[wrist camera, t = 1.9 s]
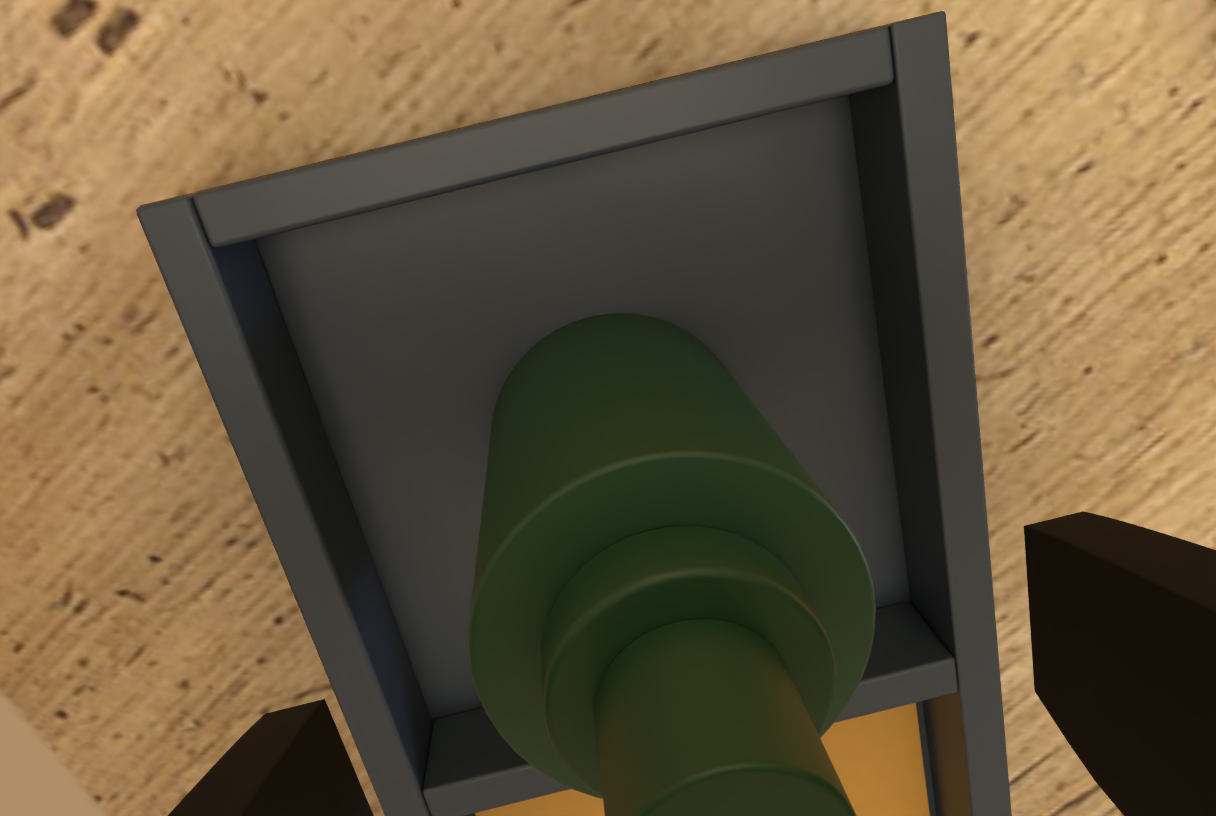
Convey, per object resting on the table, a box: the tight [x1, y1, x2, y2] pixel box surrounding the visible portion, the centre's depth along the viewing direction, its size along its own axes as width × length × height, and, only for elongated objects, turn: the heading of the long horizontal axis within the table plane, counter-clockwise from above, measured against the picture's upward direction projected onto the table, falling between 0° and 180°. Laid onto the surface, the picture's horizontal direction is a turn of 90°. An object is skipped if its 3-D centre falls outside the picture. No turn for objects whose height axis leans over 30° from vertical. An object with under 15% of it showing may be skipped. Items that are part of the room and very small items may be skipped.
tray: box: [137, 11, 1011, 816], centre depth 17 cm, size 12×22×2 cm, turn 13°
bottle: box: [468, 313, 876, 816], centre depth 11 cm, size 5×5×10 cm
